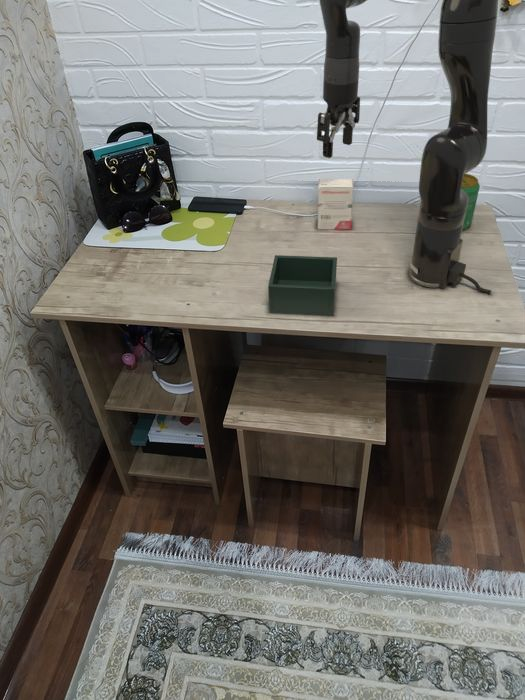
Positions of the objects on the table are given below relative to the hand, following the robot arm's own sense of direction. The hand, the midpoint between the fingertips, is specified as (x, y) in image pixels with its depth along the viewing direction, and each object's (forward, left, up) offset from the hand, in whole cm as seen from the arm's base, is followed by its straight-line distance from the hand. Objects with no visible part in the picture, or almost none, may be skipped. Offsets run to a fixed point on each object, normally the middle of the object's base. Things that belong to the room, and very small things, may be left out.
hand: (337, 150), depth 133 cm
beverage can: (-25, -17, -20) cm, 36 cm away
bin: (-11, +30, -20) cm, 37 cm away
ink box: (0, 0, -20) cm, 20 cm away
